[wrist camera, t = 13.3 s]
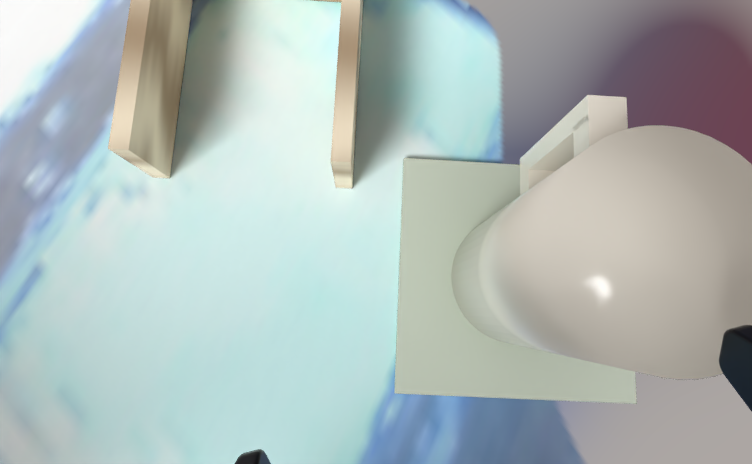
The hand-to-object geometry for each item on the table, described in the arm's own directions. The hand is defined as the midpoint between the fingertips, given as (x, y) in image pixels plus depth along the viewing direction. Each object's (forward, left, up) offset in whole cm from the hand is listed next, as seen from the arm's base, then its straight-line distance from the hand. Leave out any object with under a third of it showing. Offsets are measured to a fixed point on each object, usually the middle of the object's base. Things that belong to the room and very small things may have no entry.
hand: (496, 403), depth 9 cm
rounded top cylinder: (+1, -6, -12) cm, 14 cm away
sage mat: (+1, -6, -13) cm, 14 cm away
